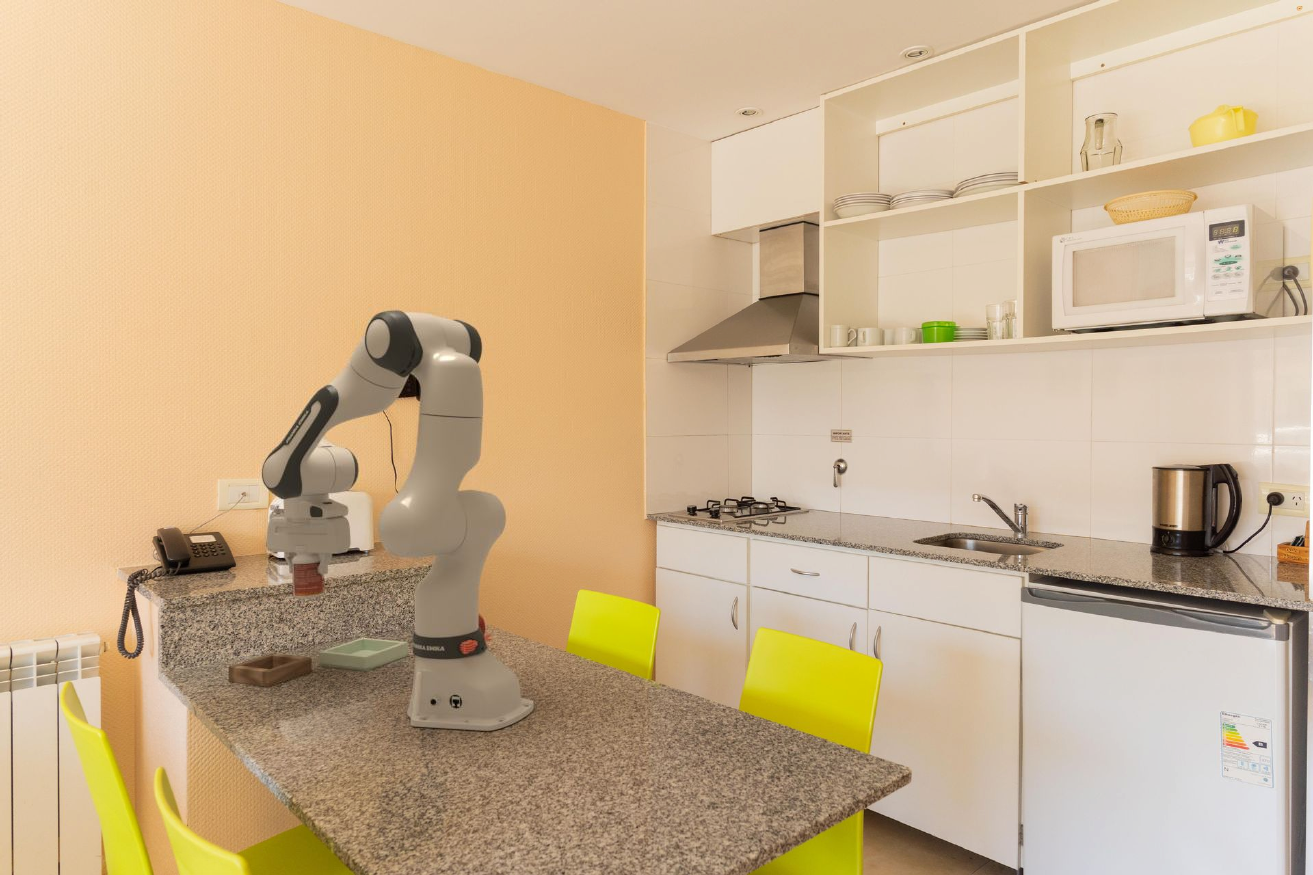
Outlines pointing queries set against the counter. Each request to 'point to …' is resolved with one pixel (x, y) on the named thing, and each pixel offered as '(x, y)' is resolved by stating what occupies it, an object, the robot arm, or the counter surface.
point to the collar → (270, 669)
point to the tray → (363, 654)
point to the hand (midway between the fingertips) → (308, 573)
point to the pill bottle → (306, 575)
